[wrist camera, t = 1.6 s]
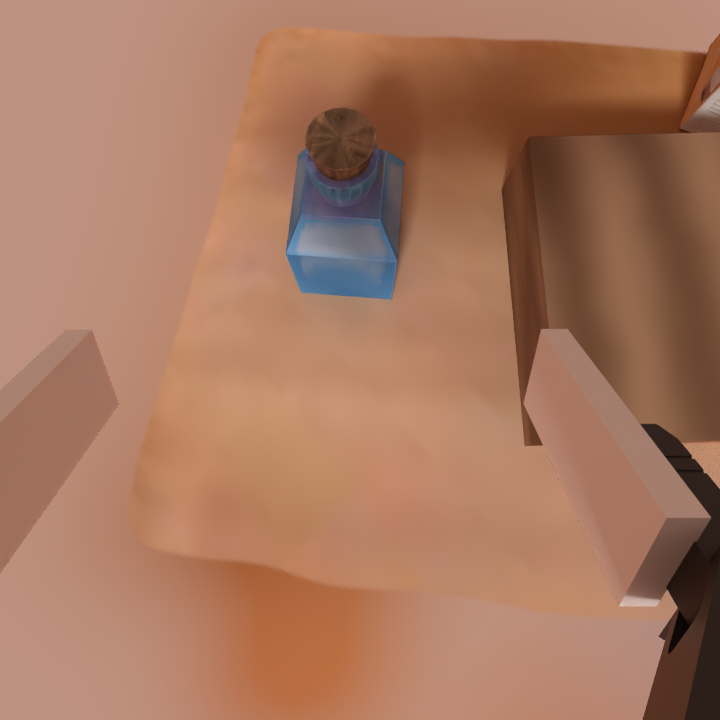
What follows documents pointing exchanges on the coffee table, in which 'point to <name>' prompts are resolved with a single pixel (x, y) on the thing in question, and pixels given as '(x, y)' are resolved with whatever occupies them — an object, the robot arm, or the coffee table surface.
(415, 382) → the coffee table surface
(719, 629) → the robot arm
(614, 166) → the walnut riser block
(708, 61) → the small box
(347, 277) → the perfume bottle
